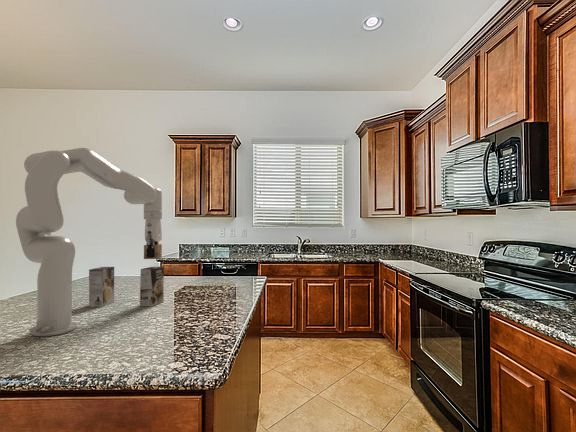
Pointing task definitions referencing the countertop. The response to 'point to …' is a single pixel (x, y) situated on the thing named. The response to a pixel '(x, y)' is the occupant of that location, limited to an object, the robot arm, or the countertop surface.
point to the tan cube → (157, 251)
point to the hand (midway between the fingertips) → (152, 256)
